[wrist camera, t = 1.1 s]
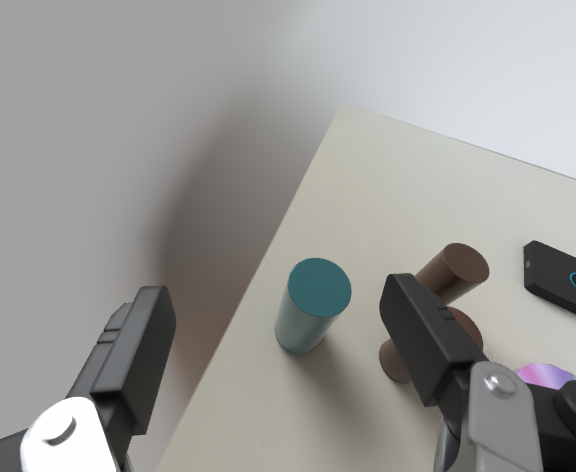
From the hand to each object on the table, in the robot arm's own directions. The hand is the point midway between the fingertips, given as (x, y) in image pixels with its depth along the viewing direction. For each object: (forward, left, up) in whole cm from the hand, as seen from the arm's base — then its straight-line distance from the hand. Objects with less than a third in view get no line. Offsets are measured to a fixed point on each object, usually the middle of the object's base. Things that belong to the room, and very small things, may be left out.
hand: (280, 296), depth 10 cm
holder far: (+11, +15, -18) cm, 26 cm away
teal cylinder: (+1, +6, -18) cm, 19 cm away
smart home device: (+33, +29, -18) cm, 47 cm away
